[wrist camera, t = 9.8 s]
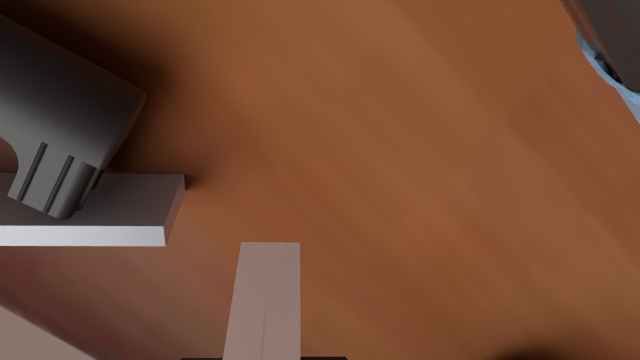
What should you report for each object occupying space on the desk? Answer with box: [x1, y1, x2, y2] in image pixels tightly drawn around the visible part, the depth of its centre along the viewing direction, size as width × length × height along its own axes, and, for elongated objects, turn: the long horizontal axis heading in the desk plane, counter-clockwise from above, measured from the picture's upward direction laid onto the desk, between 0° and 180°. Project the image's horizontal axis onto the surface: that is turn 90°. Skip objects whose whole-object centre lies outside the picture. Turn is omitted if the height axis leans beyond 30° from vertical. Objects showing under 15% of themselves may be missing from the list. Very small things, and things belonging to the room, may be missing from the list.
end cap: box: [0, 14, 147, 220], centre depth 30 cm, size 10×7×7 cm
